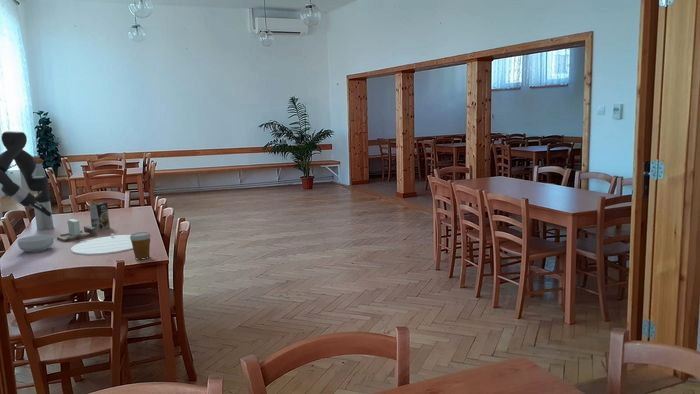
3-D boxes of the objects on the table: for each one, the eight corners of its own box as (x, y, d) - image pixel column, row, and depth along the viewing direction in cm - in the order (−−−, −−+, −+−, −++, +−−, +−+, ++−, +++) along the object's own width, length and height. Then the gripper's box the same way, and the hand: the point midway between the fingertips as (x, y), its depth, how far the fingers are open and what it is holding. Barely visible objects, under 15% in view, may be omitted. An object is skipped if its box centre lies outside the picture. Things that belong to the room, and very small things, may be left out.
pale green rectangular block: (75, 236, 310) (73, 221, 309) (69, 234, 316) (67, 219, 315) (80, 235, 313) (78, 220, 311) (74, 233, 319) (72, 219, 317)
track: (64, 242, 305) (63, 234, 305) (57, 239, 313) (56, 231, 312) (96, 235, 318) (96, 228, 318) (89, 233, 326) (88, 225, 325)
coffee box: (101, 231, 330) (98, 204, 327) (91, 231, 331) (88, 205, 328) (110, 227, 339) (107, 202, 336) (101, 227, 340) (98, 202, 337)
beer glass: (135, 256, 269) (132, 232, 267) (155, 254, 270) (152, 231, 268) (129, 261, 260) (126, 237, 258) (149, 260, 261) (147, 235, 259)
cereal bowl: (62, 247, 294) (60, 234, 292) (36, 255, 278) (34, 242, 277) (38, 245, 299) (37, 233, 298) (11, 254, 284) (9, 240, 282)
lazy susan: (74, 242, 306) (74, 236, 305) (148, 233, 320) (148, 227, 319) (67, 259, 269) (66, 253, 269) (151, 249, 283) (150, 242, 283)
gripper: (31, 191, 290) (58, 210, 301) (23, 190, 299) (50, 208, 310) (21, 203, 287) (49, 221, 298) (13, 201, 296) (41, 219, 307)
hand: (50, 214), depth 304 cm, fingers closed
